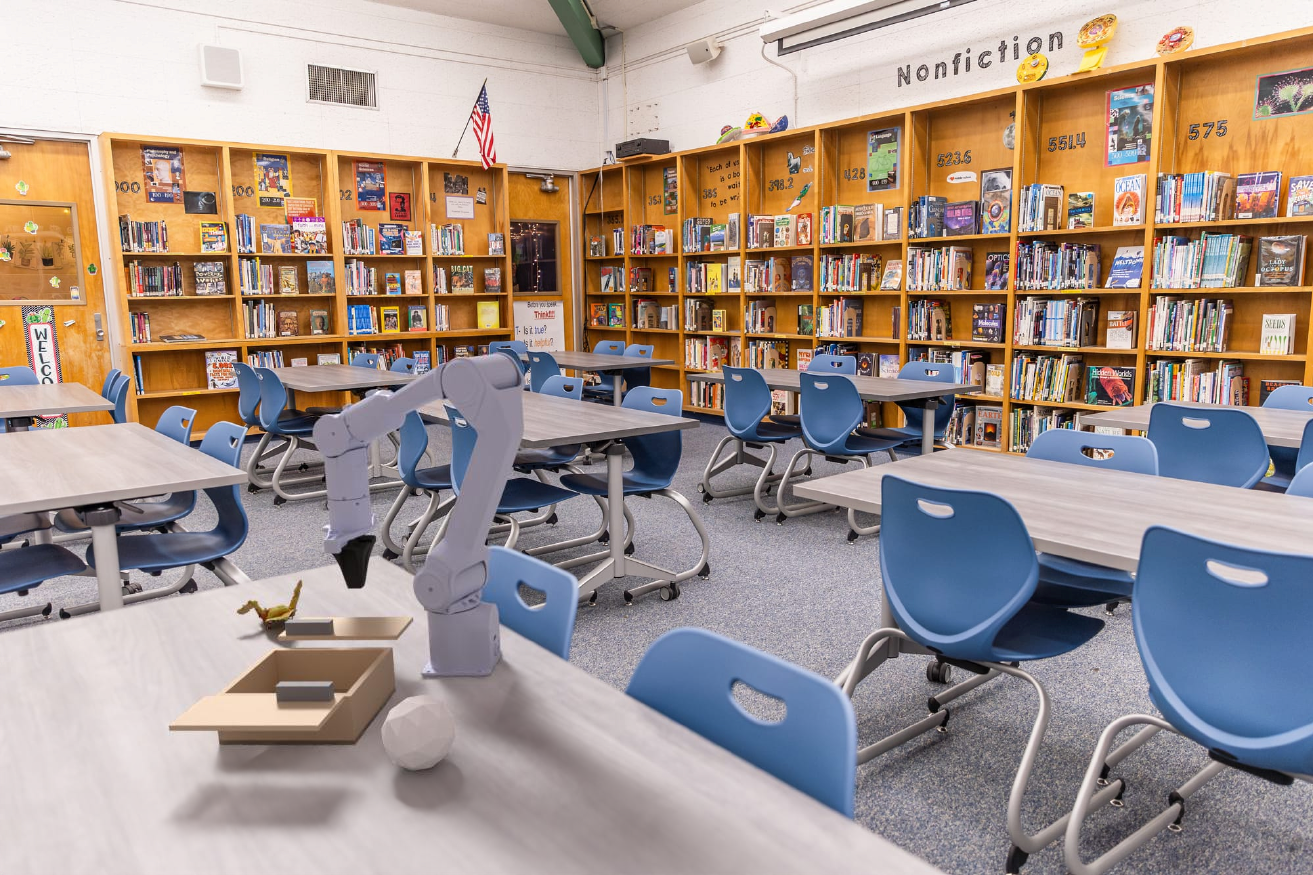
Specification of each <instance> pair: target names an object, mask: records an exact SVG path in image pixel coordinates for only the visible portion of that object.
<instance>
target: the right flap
mask: <svg viewBox="0 0 1313 875" xmlns="http://www.w3.org/2000/svg"><path fill="white" fill-rule="evenodd" d="M412 623H414V616H346V617H344V616H340V617H339V616H335V617H334V616H326V617H321V616H320V617H319V616H317V617H311V616H310V617H307V616H306V617H304V616H303V617H299V618H293V619H291V618H288V620H285V621H284V627H285V630H283V632H281V633H280V634H279V635H278V636H277V640H278V641H397V640H398V639H399V638H400V637H401V636H402V635H403V633H405V631H406V630H407V629H408V628H409V626H410V625H412Z"/></svg>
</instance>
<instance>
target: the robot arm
mask: <svg viewBox="0 0 1313 875" xmlns="http://www.w3.org/2000/svg"><path fill="white" fill-rule="evenodd" d="M526 383H527V380H526V378H525V376H524V374H523V373H522V370H521V369H520V366H519V365H518V364H517V361H516V360H515V359H514V358H513V357H512V356H511V355H509V354H507V353H505V352H493V353H491V354H486V355H485V354H484V355H477V356H469V357H467V356H459V357H455V358H453V359H451V360H449V361H448V362H444V363H440V364H437V365H436V366H435V367H434V368H432V369H430V370H429V371H428V372H425V373H424V374H422V375H421V376H419V377H417V378H416V379H414V380H412V381H411V382H409V383H408V384H406V385H405V386H403V387H401V388H399V389H398V390H396V391H395V392H392V391H390V390H386V389H381V390H379V389H378V388H376V389H371V390H368V391H366V392H365V393H364V394H365V398H363V399H362V400H360V401H358V402H356V403H354V404H353V403H349V404H348V403H347V404H346V405H343V406H342V411H341V412H340V413H335V414H323V415H322V416H321V417H320V418H319V419H318V420H317V421H315V424H314V426H313V429H312V440H313V443H314V445H315V446H314V447H316V449H317V450H318V451H319V452H320V454H322V455H323V459H324V471H325V473H324V474H325V483H326V494H327V495H326V496H327V505H328V506H327V508H328V517H329V518H328V519H329V524H326V525H324V526H323V527H322V529H321V531H322V533H327V535H326V538H324V539H323V549H324V554H331V555H332V556H333V558H334V559H335V561H336V563H337V564H338V566H339V568H340V571H341V573H342V576H343V580H344V582H345V585H346V587H347V589H349V590H351V589H352V590H356V589H357V590H358V589H363V588H364V586H365V585H366V581H367V573H368V567H369V562H370V558H371V556H372V555H371V554H372V552H373V548H374V546H375V544H376V542H377V536H376V535H375V534H369V533H371V532H373V531H374V530H375V528H376V527H377V526H378V522H377V513H372V508H371V506H372V504H371V497H370V496H371V494H370V483H369V469H368V468H369V467H368V461H369V459H370V458H371V457H370V448H371V446H372V444H373V443H374V442H375V441H376V440H378V439H380V438H382V437H385V436H387V435H388V434H390V433H391V432H394V431H396V430H398V429H400V428H402V426H404V424H405V422H406V419H407V417H406V416H407V414H409V413H411V412H413V411H415V410H418V409H420V408H422V407H424V406H426V405H428V404H431V403H433V402H435V401H437V400H448V401H449V402H450V403H451V404H452V405H453V407H454V408H455V409H456V410H457V412H459V413H460V415H461V416H462V417H463V418H464V420H466V421H467V423H468V424H469V425H470V426H471V428H473V429H474V430H475V432H476V434H477V438H476V440H475V443H474V444H475V445H474V448H473V450H472V453H471V456H470V459H469V462H468V465H467V467H466V470H465V474H464V478H463V480H462V483H461V485H460V490H459V492H458V495H457V498H456V501H455V504H454V507H453V510H452V513H451V515H450V518H449V522H448V525H447V528H446V530H445V534H444V536H443V538H442V539H441V540H440V542H439V543H437V545H436V546H435V547H434V548H433V549H432V550H431V551H430V553H429V554H428V556H427V558H426V562H424V565H423V566H422V567H421V568H420V569H419V570H417V572H416V574H415V575H414V577H413V582H412V588H413V593H414V596H415V598H416V600H417V601H418V602H419V604H420V605H421V606H422V607H423V610H424V611H426V615H427V627H428V628H427V630H428V631H427V632H428V643H429V644H428V645H429V657H430V660H429V661H428V662H427V664H426V665H425V666H424V668H423V669H422V671H421V672H420V675H421V677H422V676H423V677H452V676H453V677H459V676H460V677H461V676H462V677H468V676H469V677H476V676H478V677H479V676H481V677H484V676H490V675H491V674H492V672H493V671H494V668H495V666H496V665H497V663H498V661H499V659H500V658H501V655H502V653H503V651H502V649H501V636H500V634H501V632H500V631H501V630H500V615H499V614H500V613H499V608H498V606H497V604H496V603H493V602H492V603H490V602H486V601H485V602H484V601H483V600H481V598H482V597H483V592H482V590H483V588H485V586H486V585H487V583H488V581H489V578H490V569H489V567H490V566H489V562H490V557H491V556H492V551H491V549H489V547H488V546H487V545H486V540H487V537H488V536H489V532H490V529H491V526H492V524H493V522H494V518H495V515H496V513H497V511H498V507H499V504H500V502H501V499H502V496H503V492H504V490H505V488H506V484H507V481H508V479H509V476H510V473H511V470H512V468H513V465H514V462H515V459H516V457H517V453H518V451H519V448H520V446H521V443H522V439H523V437H524V432H525V424H524V422H525V421H524V411H523V410H524V409H523V391H524V389H525V387H526Z"/></svg>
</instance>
